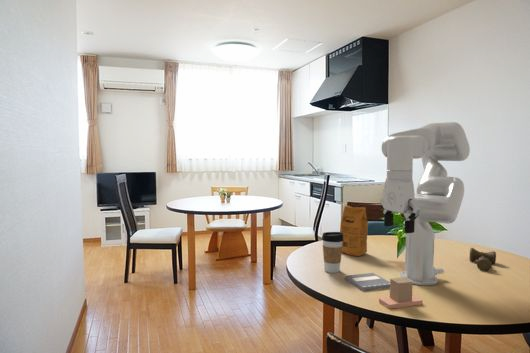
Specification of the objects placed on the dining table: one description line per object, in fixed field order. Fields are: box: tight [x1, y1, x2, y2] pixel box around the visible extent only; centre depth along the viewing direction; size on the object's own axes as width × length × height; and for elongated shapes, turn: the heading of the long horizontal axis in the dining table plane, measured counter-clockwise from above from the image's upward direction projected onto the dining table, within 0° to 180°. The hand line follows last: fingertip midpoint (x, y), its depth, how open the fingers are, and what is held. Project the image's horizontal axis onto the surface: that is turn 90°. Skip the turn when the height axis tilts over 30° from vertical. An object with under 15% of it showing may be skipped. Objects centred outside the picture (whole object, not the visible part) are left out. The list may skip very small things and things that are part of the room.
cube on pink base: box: [378, 277, 424, 309], centre depth 109 cm, size 12×5×7 cm, turn 107°
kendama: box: [469, 247, 497, 272], centre depth 149 cm, size 6×10×20 cm
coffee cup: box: [321, 231, 344, 274], centre depth 139 cm, size 8×8×15 cm
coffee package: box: [339, 204, 369, 257], centre depth 164 cm, size 10×12×22 cm
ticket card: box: [344, 272, 390, 292], centre depth 126 cm, size 12×12×1 cm
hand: (398, 229), depth 112 cm, fingers open, 9 cm apart
